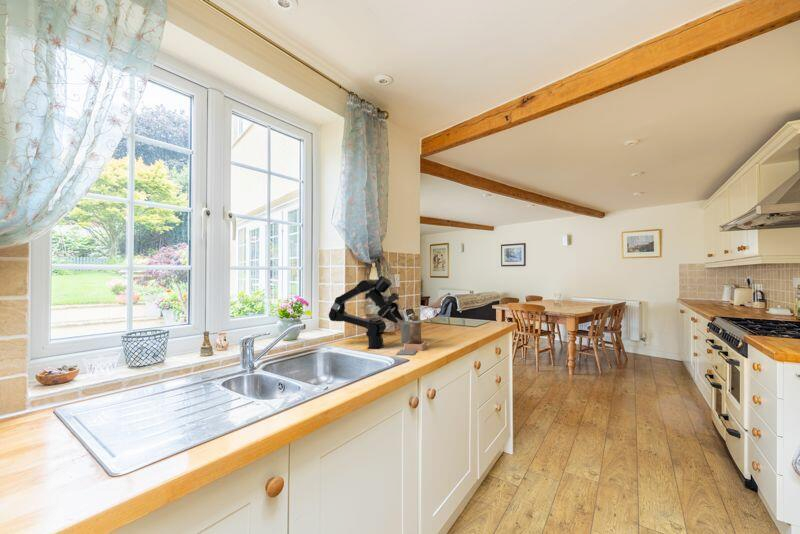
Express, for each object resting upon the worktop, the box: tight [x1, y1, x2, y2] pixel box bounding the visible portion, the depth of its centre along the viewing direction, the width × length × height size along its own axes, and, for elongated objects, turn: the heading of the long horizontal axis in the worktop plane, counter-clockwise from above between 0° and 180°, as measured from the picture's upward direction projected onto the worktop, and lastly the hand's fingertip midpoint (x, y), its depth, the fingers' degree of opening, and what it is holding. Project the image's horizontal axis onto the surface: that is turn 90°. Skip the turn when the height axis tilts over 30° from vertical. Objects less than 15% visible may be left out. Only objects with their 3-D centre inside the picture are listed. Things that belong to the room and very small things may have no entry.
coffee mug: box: [400, 321, 410, 345], centre depth 184 cm, size 13×10×10 cm
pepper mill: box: [408, 315, 422, 344], centre depth 166 cm, size 6×6×16 cm
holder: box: [403, 340, 428, 352], centre depth 166 cm, size 9×9×3 cm
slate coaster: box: [396, 349, 418, 356], centre depth 157 cm, size 8×8×1 cm
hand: (400, 321), depth 168 cm, fingers open, 9 cm apart
